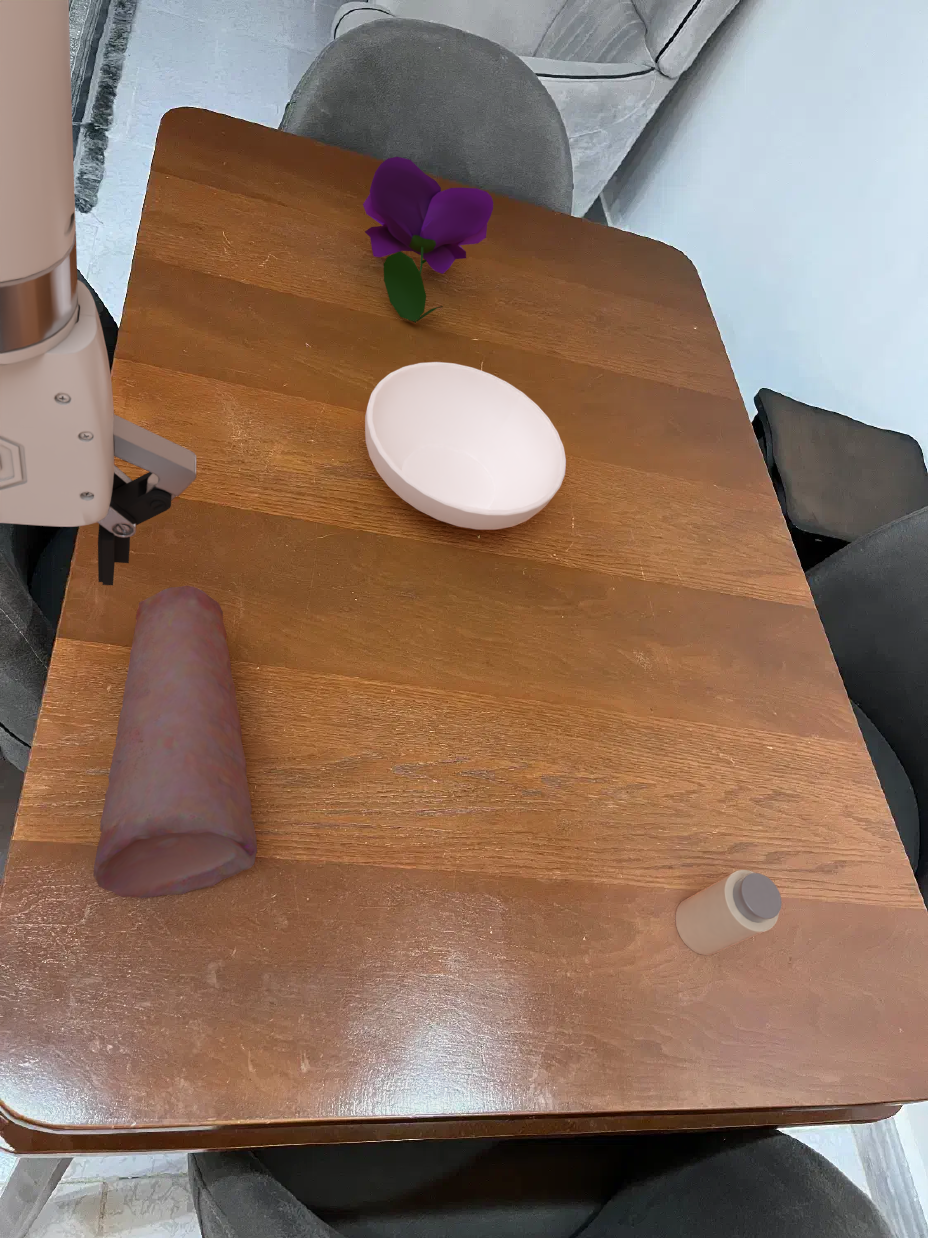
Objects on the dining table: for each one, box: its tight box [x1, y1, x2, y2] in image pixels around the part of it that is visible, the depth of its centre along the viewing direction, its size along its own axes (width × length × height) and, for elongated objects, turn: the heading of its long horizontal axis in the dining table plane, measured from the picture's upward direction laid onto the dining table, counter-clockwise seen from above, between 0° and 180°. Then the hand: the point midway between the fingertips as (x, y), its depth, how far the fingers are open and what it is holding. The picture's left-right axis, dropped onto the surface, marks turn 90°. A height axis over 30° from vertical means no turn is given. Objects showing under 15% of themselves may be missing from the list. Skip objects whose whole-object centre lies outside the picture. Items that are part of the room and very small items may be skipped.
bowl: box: [364, 361, 567, 531], centre depth 81 cm, size 20×20×7 cm
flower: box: [362, 156, 494, 324], centre depth 95 cm, size 15×15×14 cm
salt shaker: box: [674, 869, 783, 956], centre depth 62 cm, size 4×4×8 cm
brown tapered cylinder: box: [93, 585, 258, 899], centre depth 56 cm, size 21×9×9 cm, turn 14°
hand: (4, 556), depth 42 cm, fingers open, 9 cm apart
